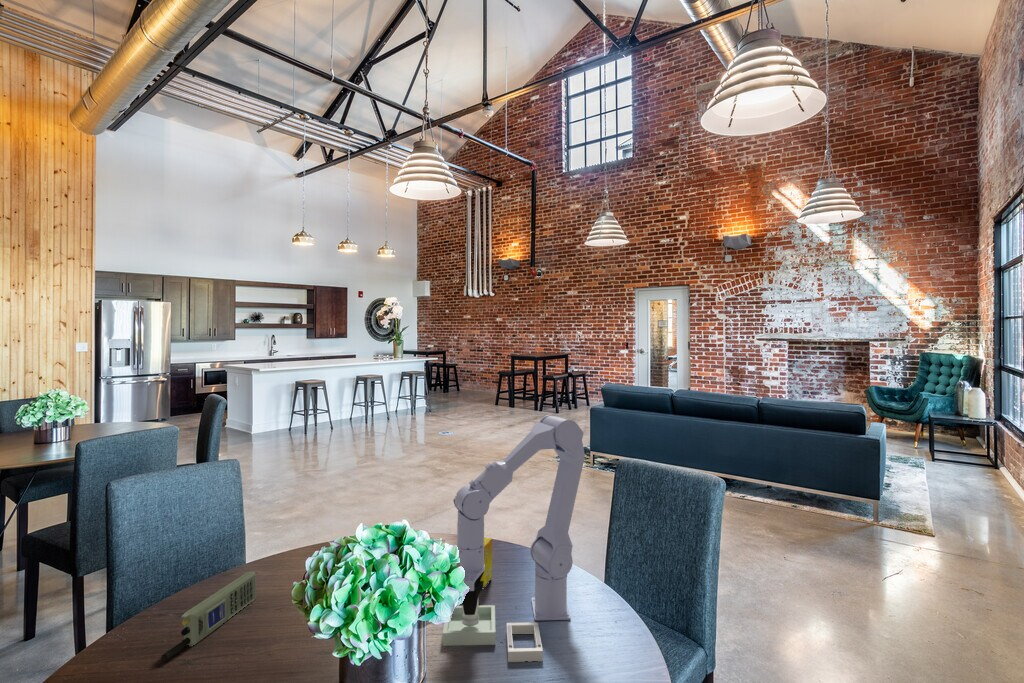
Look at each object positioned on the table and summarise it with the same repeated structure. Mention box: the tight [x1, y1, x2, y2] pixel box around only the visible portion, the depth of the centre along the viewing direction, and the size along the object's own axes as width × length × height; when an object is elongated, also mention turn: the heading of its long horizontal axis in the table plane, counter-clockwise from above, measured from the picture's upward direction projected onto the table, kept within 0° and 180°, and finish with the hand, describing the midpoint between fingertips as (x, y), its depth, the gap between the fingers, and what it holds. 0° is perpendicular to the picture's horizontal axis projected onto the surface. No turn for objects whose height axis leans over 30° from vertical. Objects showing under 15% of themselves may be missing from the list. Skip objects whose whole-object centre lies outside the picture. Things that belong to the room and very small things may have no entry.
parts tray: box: [442, 604, 496, 647], centre depth 107 cm, size 11×11×2 cm
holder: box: [506, 621, 544, 663], centre depth 102 cm, size 10×7×2 cm, turn 3°
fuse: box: [462, 596, 480, 626], centre depth 107 cm, size 4×4×7 cm
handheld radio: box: [161, 571, 257, 662], centre depth 108 cm, size 7×3×25 cm
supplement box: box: [480, 537, 493, 589], centre depth 129 cm, size 6×6×11 cm
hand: (470, 608), depth 107 cm, fingers closed on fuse, 3 cm apart
